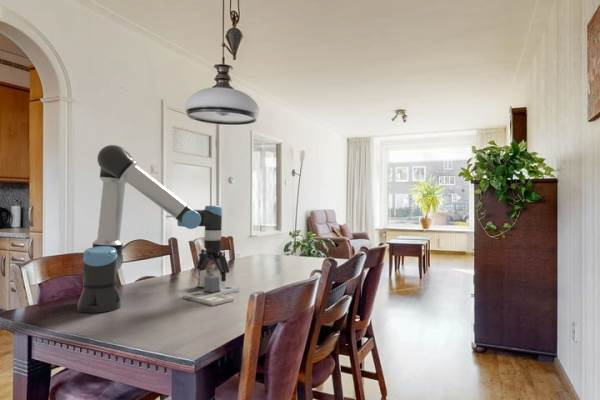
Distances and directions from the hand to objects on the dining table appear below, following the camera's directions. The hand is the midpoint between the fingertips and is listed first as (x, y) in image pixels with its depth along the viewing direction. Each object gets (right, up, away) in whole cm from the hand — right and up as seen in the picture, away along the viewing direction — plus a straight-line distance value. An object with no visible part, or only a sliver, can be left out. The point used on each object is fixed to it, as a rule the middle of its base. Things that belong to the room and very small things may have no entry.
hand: (212, 286), depth 182 cm
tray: (+4, -4, -12) cm, 13 cm away
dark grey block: (0, -4, 0) cm, 4 cm away
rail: (0, -4, 0) cm, 4 cm away
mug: (-8, -4, +17) cm, 19 cm away
